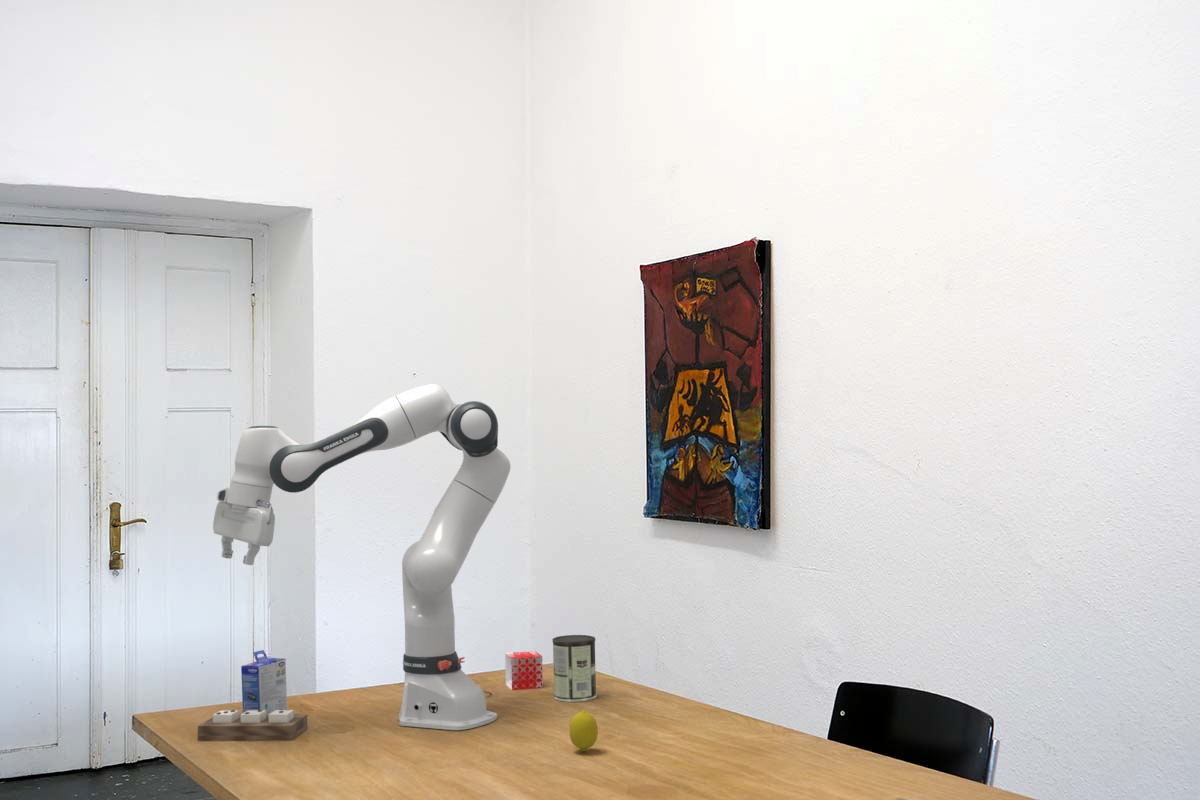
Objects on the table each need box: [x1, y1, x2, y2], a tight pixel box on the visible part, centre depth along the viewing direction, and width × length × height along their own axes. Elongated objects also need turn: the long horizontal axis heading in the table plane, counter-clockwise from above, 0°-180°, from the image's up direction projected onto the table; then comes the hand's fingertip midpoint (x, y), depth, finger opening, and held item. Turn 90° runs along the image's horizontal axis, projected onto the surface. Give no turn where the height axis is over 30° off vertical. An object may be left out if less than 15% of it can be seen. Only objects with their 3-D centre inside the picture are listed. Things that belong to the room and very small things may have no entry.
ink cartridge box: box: [240, 649, 288, 715], centre depth 254 cm, size 10×6×14 cm, turn 159°
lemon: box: [569, 709, 599, 753], centre depth 218 cm, size 6×6×8 cm
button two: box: [240, 710, 266, 723], centre depth 237 cm, size 4×4×3 cm
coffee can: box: [551, 634, 597, 703], centre depth 267 cm, size 10×10×14 cm
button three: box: [212, 709, 240, 723], centre depth 237 cm, size 4×4×3 cm
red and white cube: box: [504, 650, 544, 691], centre depth 281 cm, size 8×8×8 cm
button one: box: [269, 709, 295, 723], centre depth 236 cm, size 4×4×3 cm
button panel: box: [197, 713, 308, 742], centre depth 237 cm, size 20×10×3 cm, turn 87°
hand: (237, 561), depth 242 cm, fingers open, 8 cm apart
